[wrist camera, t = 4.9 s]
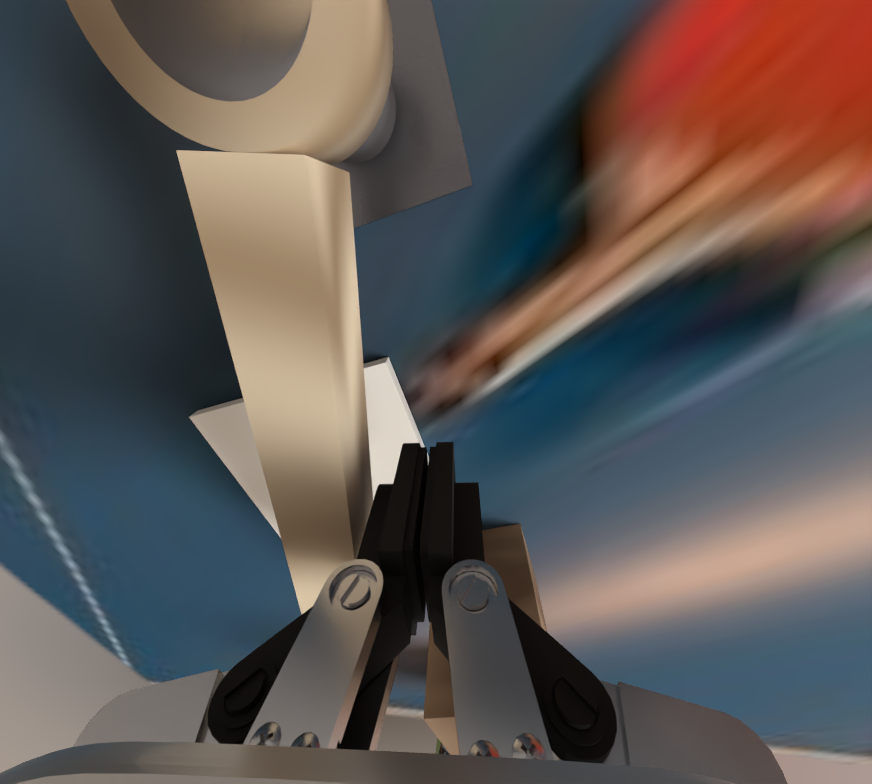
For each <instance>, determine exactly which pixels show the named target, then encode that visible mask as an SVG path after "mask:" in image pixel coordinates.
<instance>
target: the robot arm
mask: <svg viewBox="0 0 872 784" xmlns="http://www.w3.org/2000/svg"><path fill="white" fill-rule="evenodd" d="M426 604H427V611H428V619H429V622H431V624H432V631H433V639H434V644H435V645H436V646H437V648H438V649H439V650H440V651H441V652H442V654H443V655H444V656H445V657H446V659H447V660H448V661H449V669H450V678H451V687H452V696H453V705H454V714H455V723H456V732H457V741H458V750H459V755H449V754H429V753H409V752H407V753H406V752H389V751H376V747H377V744H378V740H379V736H380V732H381V729H382V725H383V721H384V717H385V713H386V709H387V705H388V701H389V697H390V693H391V690H392V686H393V682H394V678H395V674H396V670H397V666H398V662H399V654H400V652H401V651H402V650H403V649H404V648H405V647H406V646H407V645H408V644H409V643H410V638H411V635H416V630H417V622H424V618H425V606H426ZM0 784H787V782H786V779H785V777H784V774H783V772H782V770H781V768H780V766H779V764H778V763H777V761H776V759H775V757H774V755H773V754H772V752H771V750H770V749H769V748H768V747H767V746H766V744H765V743H764V742H763V741H762V740H761V739H760V737H759V736H758V735H757V734H756V733H755V732H754V731H753V730H751V729H750V728H749V727H748V726H746V725H745V724H744V723H743V722H741V721H740V720H739V719H736V718H734V717H732V716H730V715H728V714H726V713H724V712H721V711H717V710H714V709H710V708H707V707H704V706H700V705H697V704H693V703H690V702H687V701H683V700H680V699H676V698H673V697H670V696H666V695H663V694H659V693H656V692H653V691H649V690H646V689H642V688H639V687H636V686H632V685H629V684H626V683H622V682H618V685H614V684H611V683H607V682H604V681H601V680H598V679H597V677H596V676H595V675H594V674H593V673H592V672H591V671H590V670H589V669H587V668H586V667H585V666H584V665H583V664H582V663H581V662H580V661H579V660H577V659H576V658H575V657H574V656H573V655H572V654H571V653H570V652H568V651H567V650H566V649H565V648H564V647H563V646H562V645H561V644H559V643H558V642H557V641H556V640H555V639H554V638H553V637H552V636H550V635H549V634H548V633H547V632H546V631H545V630H544V629H543V628H541V627H540V626H539V625H538V624H537V623H536V622H535V621H534V620H532V619H531V618H530V617H529V616H528V615H527V614H526V613H525V612H523V611H522V610H521V609H520V608H519V607H518V606H517V605H516V604H515V603H513V602H512V601H511V600H510V599H509V598H508V597H507V594H506V590H505V587H504V583H503V581H502V579H501V577H500V575H499V574H498V572H497V571H496V570H495V569H494V568H493V567H492V566H490V565H489V564H487V563H485V558H484V546H483V534H482V522H481V510H480V498H479V486H478V483H456V481H455V462H454V444H453V442H437V444H436V447H430V454H429V463H428V457H427V449H426V447H421V446H420V443H403V445H402V448H401V453H400V457H399V461H398V466H397V470H396V474H395V478H394V483H393V484H379V485H378V487H377V490H376V493H375V497H374V500H373V504H372V507H371V511H370V514H369V517H368V521H367V524H366V528H365V531H364V535H363V538H362V542H361V545H360V549H359V552H358V555H357V559H355V560H352V561H348V562H346V563H344V564H342V565H340V566H339V567H338V568H336V569H335V570H334V571H333V572H332V573H331V574H330V576H329V577H328V579H327V580H326V582H325V584H324V586H323V588H322V590H321V591H320V593H319V595H318V597H317V599H316V601H315V603H314V605H313V607H311V608H310V609H309V610H307V611H306V612H305V613H303V614H302V615H301V616H299V617H298V618H297V619H295V620H294V621H293V622H291V623H290V624H289V625H287V626H286V627H285V628H284V629H282V630H281V631H280V632H278V633H277V634H276V635H274V636H273V637H272V638H270V639H269V640H268V641H266V642H265V643H264V644H262V645H261V646H260V647H258V648H257V649H256V650H254V651H253V652H252V653H251V654H249V655H248V656H247V657H245V658H244V659H243V660H241V661H240V662H239V663H238V664H236V665H235V666H234V667H233V668H232V669H231V670H230V671H227V672H223V673H221V671H220V670H219V669H217V670H213V671H209V672H204V673H200V674H196V675H192V676H188V677H184V678H180V679H176V680H171V681H167V682H163V683H159V684H155V685H151V686H147V687H143V688H139V689H135V690H131V691H129V692H126V693H124V694H121V695H119V696H117V697H116V698H115V699H113V700H112V701H110V702H109V703H108V704H106V705H105V706H104V707H103V708H102V709H101V710H100V711H99V712H98V713H97V714H96V715H95V716H94V717H93V718H92V719H91V720H90V721H89V723H88V724H87V725H86V727H85V729H84V730H83V731H82V733H81V734H80V736H79V737H78V739H77V741H76V743H75V744H74V746H73V747H71V748H67V749H63V750H59V751H55V752H52V753H49V754H46V755H43V756H40V757H37V758H34V759H32V760H29V761H26V762H24V763H21V764H19V765H17V766H15V767H13V768H11V769H8V770H6V771H4V772H2V773H0Z"/></svg>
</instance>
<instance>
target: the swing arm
mask: <svg viewBox="0 0 872 784" xmlns="http://www.w3.org/2000/svg"><path fill="white" fill-rule="evenodd" d="M66 2H67V4H68V6H69V8H70V10H71V12H72V14H73V16H74V17H75V19H76V21H77V23H78V25H79V26H80V28H81V30H82V32H83V33H84V35H85V37H86V39H87V40H88V42H89V43H90V45H91V46H92V47H93V49H94V50H95V52H96V53H97V55H98V56H99V58H100V59H101V61H102V62H103V63H104V65H105V66H106V67H107V68H108V70H109V71H110V72H111V74H112V75H113V76H114V77H115V79H116V80H117V81H118V82H119V83H120V84H121V85H122V87H123V88H124V89H125V90H126V91H127V92H128V93H129V94H130V95H131V96H132V97H133V98H134V99H135V100H136V101H137V102H138V103H139V104H140V105H141V106H142V107H144V108H145V109H146V110H147V111H148V112H149V113H150V114H151V115H153V116H154V117H155V118H157V119H158V120H159V121H161V122H162V123H164V124H165V125H166V126H168V127H169V128H171V129H172V130H174V131H176V132H178V133H179V134H181V135H183V136H185V137H186V138H188V139H191V140H193V141H195V142H198V143H200V144H202V145H205V146H208V147H212V148H215V149H219V150H223V151H226V152H212V151H185V150H176V151H177V155H178V159H179V163H180V166H181V170H182V174H183V177H184V181H185V185H186V188H187V192H188V196H189V199H190V203H191V207H192V211H193V214H194V218H195V222H196V225H197V229H198V233H199V236H200V240H201V244H202V248H203V251H204V255H205V259H206V262H207V266H208V270H209V273H210V277H211V281H212V284H213V288H214V292H215V296H216V299H217V303H218V307H219V310H220V314H221V318H222V321H223V325H224V329H225V333H226V336H227V340H228V344H229V347H230V351H231V355H232V358H233V362H234V366H235V369H236V373H237V377H238V381H239V384H240V388H241V392H242V395H243V399H244V403H245V406H246V410H247V414H248V418H249V421H250V425H251V429H252V432H253V436H254V440H255V443H256V447H257V451H258V454H259V458H260V462H261V466H262V469H263V473H264V477H265V480H266V484H267V488H268V491H269V495H270V499H271V503H272V506H273V510H274V514H275V517H276V521H277V525H278V528H279V532H280V536H281V539H282V543H283V547H284V551H285V554H286V558H287V562H288V565H289V569H290V573H291V576H292V580H293V584H294V588H295V591H296V595H297V599H298V602H299V606H300V610H301V613H302V614H303V613H305V612H306V611H307V610H309V609H310V608H311V607H313V605H314V603H315V601H316V599H317V597H318V595H319V593H320V591H321V590H322V588H323V586H324V584H325V582H326V580H327V579H328V577H329V576H330V574H331V573H332V572H333V571H334V570H335V569H336V568H338V567H339V566H340V565H342V564H344V563H346V562H348V561H352V560H355V559H357V555H358V552H359V549H360V545H361V542H362V538H363V535H364V531H365V528H366V524H367V521H368V517H369V514H370V511H371V507H372V504H373V491H372V477H371V464H370V450H369V436H368V422H367V408H366V395H365V381H364V367H363V353H362V339H361V326H360V312H359V298H358V284H357V270H356V257H355V243H354V229H353V215H352V202H351V188H350V174H349V172H347V171H344V170H342V169H339V168H337V167H334V166H333V165H336V164H338V163H340V162H341V161H343V162H347V163H361V162H365V161H368V160H370V159H372V158H374V157H375V156H376V155H378V154H379V153H380V152H381V151H382V150H383V149H384V147H385V146H386V144H387V143H388V141H389V139H390V137H391V135H392V132H393V129H394V125H395V119H396V99H395V93H394V89H393V85H392V82H391V75H392V67H393V33H392V23H391V17H390V11H389V5H388V1H387V0H66Z"/></svg>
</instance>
